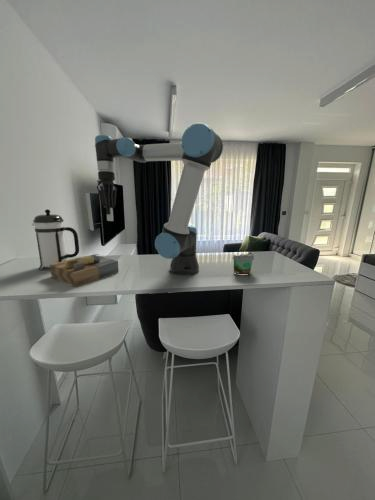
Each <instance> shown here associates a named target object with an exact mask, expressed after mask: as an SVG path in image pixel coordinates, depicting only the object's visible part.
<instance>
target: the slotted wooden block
mask: <svg viewBox="0 0 375 500" xmlns="http://www.w3.org/2000/svg"><path fill="white" fill-rule="evenodd" d="M91 255H92V254H91ZM91 255H89V256H91ZM86 256H87V255H86ZM86 256H84V257H86ZM99 256H100V255H99ZM49 269H50V273H51V277H52V278H54V279H56V280H59V281H60V282H63V283H65V284H68V285H70V286H72V287H79V286H82V285H85V284H88V283H92V282H94V280H95V281H97V279H98V280H100V278H101V279H103V277H104V278H106V277H105V276H107V277H109V275H110V276H113V275H116V274H119V272H120V271H119V261H118V260H116V259H111V258H108V257H104V256H100V262H98V263H90V264H85V265H84V263H83V262H80V263H76V264H73V267H71V268H66V267H65V262H64V261H63V262H58V263H54V264H50V267H49ZM112 274H113V275H112Z"/></svg>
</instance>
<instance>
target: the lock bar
mask: <svg viewBox="0 0 375 500" xmlns="http://www.w3.org/2000/svg"><path fill="white" fill-rule="evenodd" d="M64 262H65V267H66V268H71V267H73V264H76V263H80V262H83V263H84V265H85V264H90V263H98V262H100V254H91V256H90V255H86V257H85V256H81V257H80V256H79V257H75V258H70V259H69V258H68V259H67V260H64Z"/></svg>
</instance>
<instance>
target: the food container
mask: <svg viewBox="0 0 375 500" xmlns="http://www.w3.org/2000/svg"><path fill="white" fill-rule="evenodd" d="M254 256H255V255H254V254H253V253H252V252H251V251H249V253H247V254H239V255H235V254H233V256H232V260H233V274H234V273H236V274H249V273H250V274H251V271H252V266H253V265H252V264H253V261H254V259H255V257H254ZM250 274H249V275H250Z"/></svg>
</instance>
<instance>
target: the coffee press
mask: <svg viewBox="0 0 375 500" xmlns="http://www.w3.org/2000/svg"><path fill="white" fill-rule="evenodd" d="M44 213H45V214H39V215H36V216H35V217H34V219H33V220H32V221H33V222H31V226H33V227H34V232H35V236H36V243H37V248H38V256H39V263H40V265H39V267H38V270H39V271H44V269H46V268H50V264H54V263H58V262H63V261H64V260H68V259H69V258H70V259H72V258H74V257H75V258H76V257H77V256H78V255H79V253H80V244H79V235H78V232H77V230H76V229H74V228H72V227H68V226H64V219H63V218H62V216H61V215H58V214H51V210H50V209H45V210H44ZM65 231H67V232H71V233H72V235H73V240H74V253H71V254H70V253H69V254H68V251H67V245H66V236H65Z"/></svg>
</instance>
